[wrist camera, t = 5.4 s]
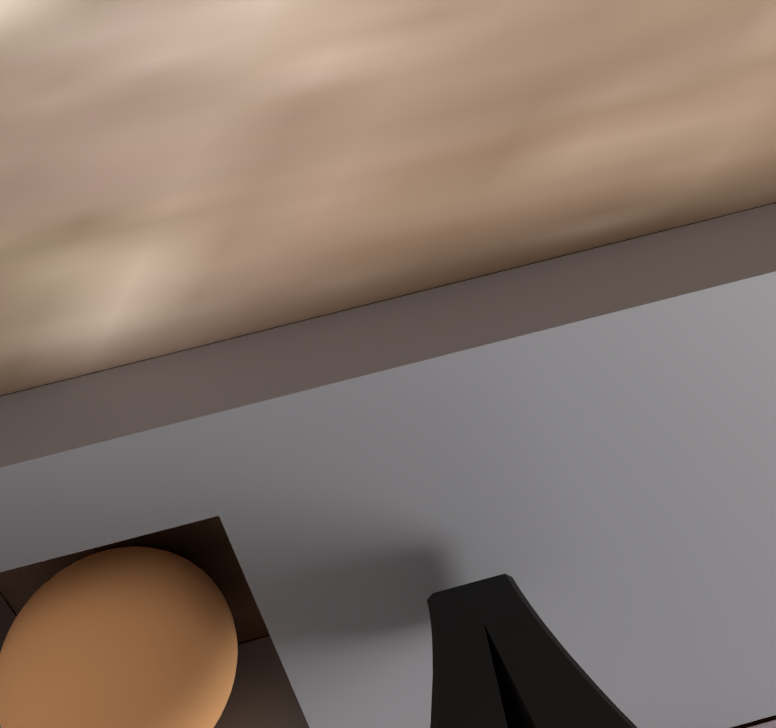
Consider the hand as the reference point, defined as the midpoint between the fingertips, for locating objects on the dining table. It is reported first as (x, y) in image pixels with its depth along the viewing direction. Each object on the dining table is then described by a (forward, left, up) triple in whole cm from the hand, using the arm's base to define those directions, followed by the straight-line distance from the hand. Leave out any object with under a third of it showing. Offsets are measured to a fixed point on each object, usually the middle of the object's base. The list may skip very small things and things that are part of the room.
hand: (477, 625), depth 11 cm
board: (-1, +2, -3) cm, 4 cm away
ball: (0, +6, -1) cm, 6 cm away
